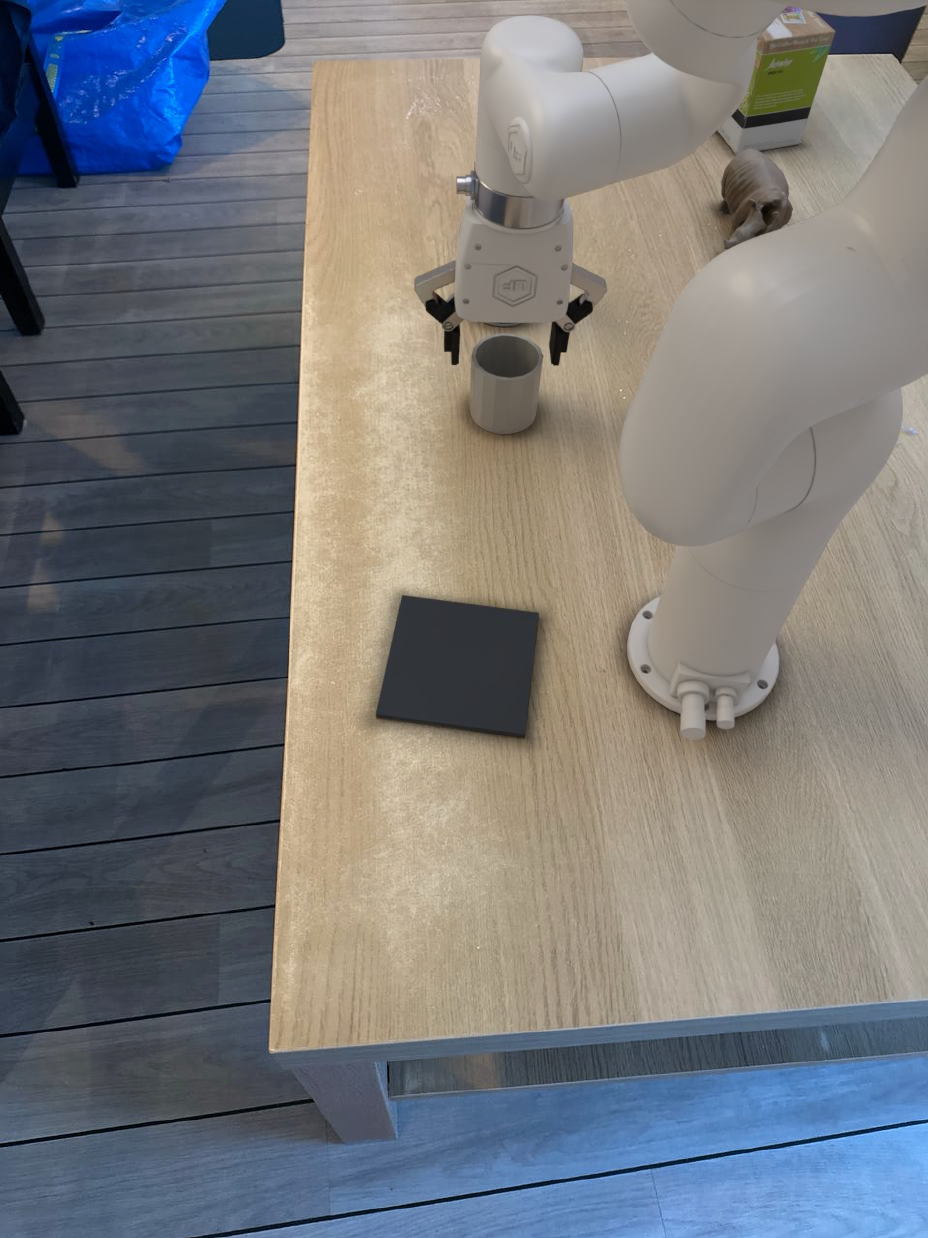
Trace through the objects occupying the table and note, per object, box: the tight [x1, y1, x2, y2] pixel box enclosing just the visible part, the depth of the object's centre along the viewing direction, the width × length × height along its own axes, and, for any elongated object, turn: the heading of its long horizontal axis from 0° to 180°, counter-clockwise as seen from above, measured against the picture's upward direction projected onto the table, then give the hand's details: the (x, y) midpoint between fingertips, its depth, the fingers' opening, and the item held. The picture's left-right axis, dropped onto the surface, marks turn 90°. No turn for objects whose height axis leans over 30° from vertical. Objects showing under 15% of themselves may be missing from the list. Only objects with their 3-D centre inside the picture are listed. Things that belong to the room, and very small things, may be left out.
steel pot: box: [468, 332, 544, 435], centre depth 95 cm, size 7×7×7 cm
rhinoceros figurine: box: [717, 148, 794, 251], centre depth 112 cm, size 8×14×15 cm
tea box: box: [716, 6, 836, 155], centre depth 125 cm, size 15×10×15 cm
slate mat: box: [375, 594, 540, 739], centre depth 80 cm, size 12×12×1 cm
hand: (504, 355), depth 93 cm, fingers open, 9 cm apart
